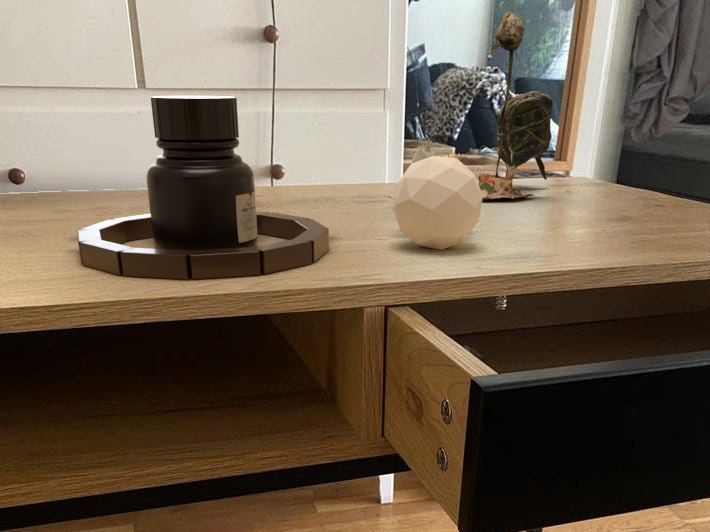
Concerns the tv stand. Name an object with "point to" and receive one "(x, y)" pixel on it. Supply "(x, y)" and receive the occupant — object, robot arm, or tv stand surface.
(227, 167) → the ink bottle
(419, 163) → the geometric ball
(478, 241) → the tv stand surface
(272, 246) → the walnut ring
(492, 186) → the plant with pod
